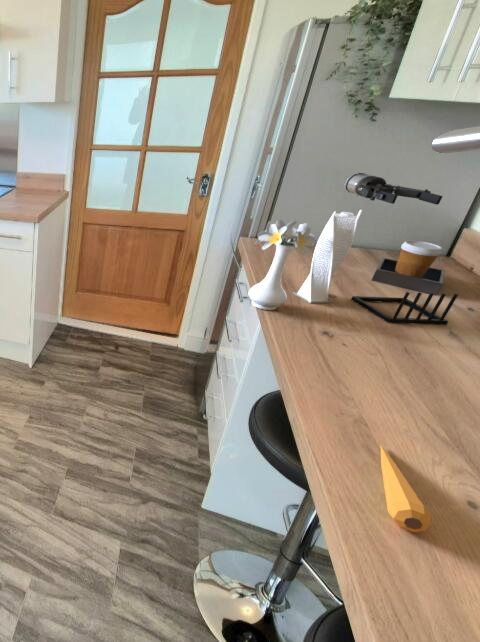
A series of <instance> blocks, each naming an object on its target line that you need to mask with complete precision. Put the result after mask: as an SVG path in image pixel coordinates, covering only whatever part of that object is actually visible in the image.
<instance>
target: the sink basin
mask: <svg viewBox="0 0 480 642" xmlns="http://www.w3.org/2000/svg"><path fill="white" fill-rule="evenodd" d="M397 262H398V259H391V258H387V257H382V258H381V260H380V262H379V263H378V265H377V268H376V270H375V272H374V274H373V276H372V278H371V282H376V283H379V284H383V285H384V284H385V285H388V286H393V287H396V288H401V289H407V290H410V291H415V292H417V293H419V292H420V293H422V294H428V295H429V294H430V293H434V295H433V296H437V295H438V293H439V291H440V289H441V287H442V286H443V284H444V278H445V269H442V268H436V267H431V266H430V267H429V269H428V270H427V271H426V273H425V274H424V275H423V277H422V278H418V277H413V276H409V275H404V274H399V273H395V272H394V271H395V268H396V265H397Z"/></svg>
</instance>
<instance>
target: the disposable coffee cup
mask: <svg viewBox="0 0 480 642" xmlns="http://www.w3.org/2000/svg"><path fill="white" fill-rule="evenodd" d="M400 246H401V247H400V248H401V249H400V251H399V255H398V259H397V261H398V262H397V265H396V268H395V271H394V272H395V273H399V274H404V275H409V276H413V277H418V278H422V277H423V275H424V274H425V273H426V271H427V270H428V269H429V267H431V266H432V265H433V263H434V262H435V261H436V260H437V259H438V257H439V256H440V255H441V254H443V251H442V250H443V247H442V246H440V245H439V244H435V243H431V242H428V241H422V240H414V239H413V240H409V239H408V240H405V241H404V242H403V243H402V244H401V245H400Z"/></svg>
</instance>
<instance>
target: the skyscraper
mask: <svg viewBox="0 0 480 642" xmlns="http://www.w3.org/2000/svg"><path fill="white" fill-rule="evenodd" d="M362 213H363V209H360V210H359V211H358V213H357V215H354V214H355V213H353V212H350V211H349V212H348V211H340V213H339V212H337V211H336V210H335V211H333V213H332V215H331V216H330V218H329V220H328V221H327V223H326V224H325V226H324V228H323V230H322V232H321V234H320V236H319V238H318V239H317V241H316V244H315V247H314V251H313V255H312V259H311V264H310V265H311V266H310V271H309V272H310V273H309V274H308V276H307V278H306V279H305V281H304V282H303V284H302V285H301V287H300V288H299V290H298V291H293V292H292V294H293V295H295V296H296V297H298V298H299V299H302V300H303V301H305V302H307V303H308V304H333V300H332V299H329V293H330V287H331V282H332V276H333V275H334V274H335V273H336V271H337V270H338V269H339V268H340V266H341V265H342V264H343V262H344V261H345V260H346V257H347V256H348V254H349V253H350V251H351V248H352V246H353V243H354V240H355V237H356V236H355V235H356V232H357V229H358V223H359V219H360V218H361V216H362Z"/></svg>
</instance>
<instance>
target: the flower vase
mask: <svg viewBox="0 0 480 642" xmlns="http://www.w3.org/2000/svg"><path fill="white" fill-rule="evenodd" d="M285 223H286V222H285V221H284V219H280V218H279V219H277V220H276V221H275V223H271V220H268V222H267V223H266V226H265V229H264V230H261V231H259V232H258V233H257V235H256V237H257V238H258V240H257V241H256V242H254V243H253V246H254V247H255V246H256V245H258V244H260V243H262V242H265V243H264V244H263V245H262V246H261V250H262V251H264V250H267V249H268V248H270V247H271V246H273V245H275V254H274V256H273V259H272V263H271V265H270V267H269V270H268V272H267V274H266V276H265V277H264V278H263V279H262V280H261V281H259V282H258V283H255V284H254V285H253V286H251V287H250V288H249V290H248V293H247V295H248V297H249V299H250V301H251V305H252V306H253V307H255V308H257V309H258V310H259V309H260V310H262V311H263V310H264V311H275V310H276V309H277V307H281V306H283V305H284V304H285V303H286V302H287V298H288V296H287V292H286V291H285V289H284V288H283V284H282V278H283V277H282V276H283V273H284V269H285V267H286V263H287V260H288V259H289V256H290V255H291V254H292V251H293V250H294V249H295V248H296V250H297V252H303V254H304V255H305V256H306V257H310V252H311V251H310V250H313V248H314V247H313V246H316V245H317V240H316V239H317V236H316V234H314V233H311V227H310V226H309V225H308V223H306V222H304V223H300V224H298V228H295V226H296V225H297V223H298V221H297V220H292V221H290V222H288V223H287V224H285ZM282 238H283V239H282Z"/></svg>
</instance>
